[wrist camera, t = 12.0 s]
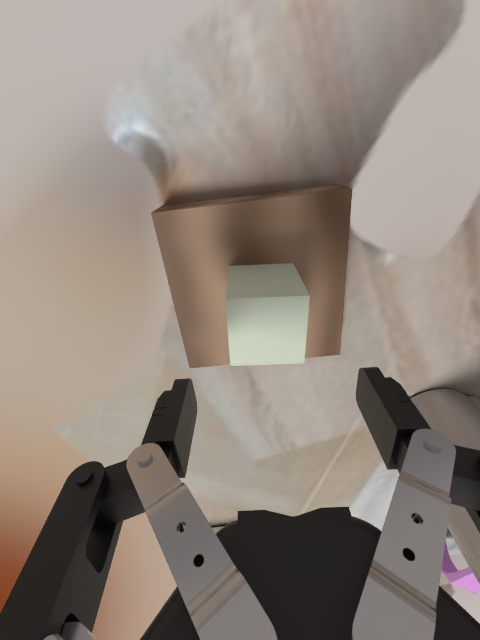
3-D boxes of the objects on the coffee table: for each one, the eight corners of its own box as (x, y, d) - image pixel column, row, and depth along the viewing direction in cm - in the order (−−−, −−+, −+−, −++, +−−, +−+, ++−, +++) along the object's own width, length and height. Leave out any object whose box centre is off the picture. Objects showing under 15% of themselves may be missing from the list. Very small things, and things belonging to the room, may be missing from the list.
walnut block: (335, 183, 23) (352, 188, 20) (328, 331, 30) (339, 354, 27) (164, 204, 24) (151, 212, 20) (195, 344, 31) (189, 368, 27)
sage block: (293, 263, 22) (309, 295, 17) (290, 319, 25) (304, 363, 20) (228, 265, 22) (225, 299, 17) (232, 321, 25) (230, 365, 20)
